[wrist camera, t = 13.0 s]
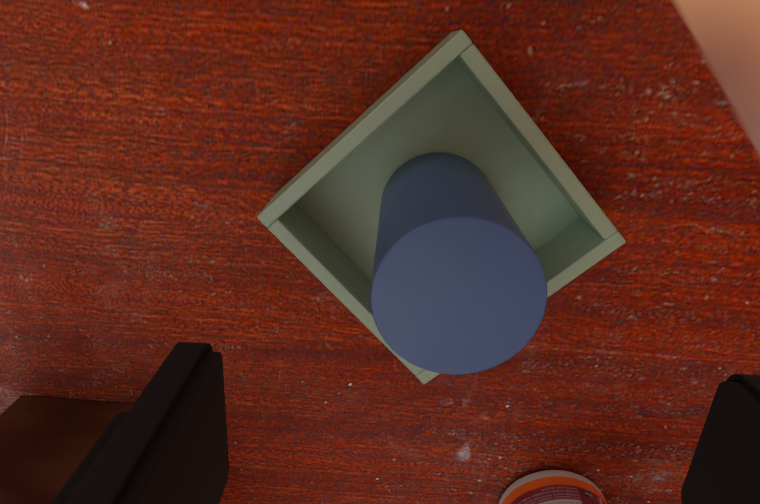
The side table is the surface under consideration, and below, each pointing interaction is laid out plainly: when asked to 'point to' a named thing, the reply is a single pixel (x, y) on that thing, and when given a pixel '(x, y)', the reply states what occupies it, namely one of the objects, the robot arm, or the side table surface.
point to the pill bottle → (553, 489)
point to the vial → (452, 269)
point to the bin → (429, 135)
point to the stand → (47, 444)
